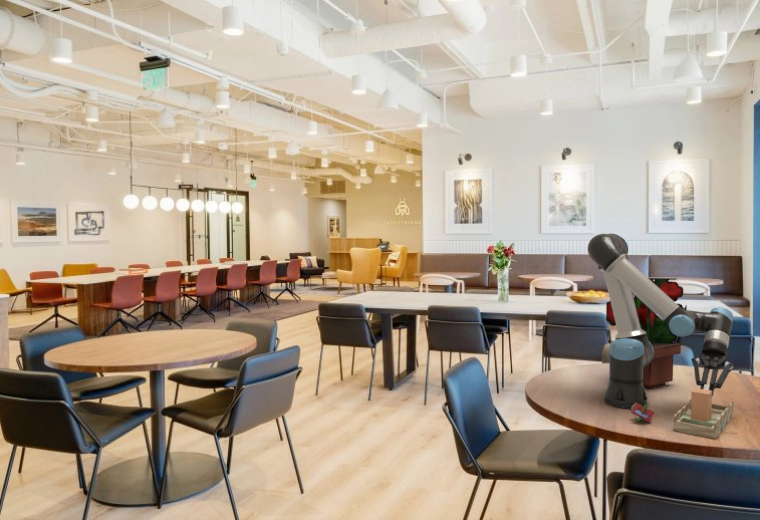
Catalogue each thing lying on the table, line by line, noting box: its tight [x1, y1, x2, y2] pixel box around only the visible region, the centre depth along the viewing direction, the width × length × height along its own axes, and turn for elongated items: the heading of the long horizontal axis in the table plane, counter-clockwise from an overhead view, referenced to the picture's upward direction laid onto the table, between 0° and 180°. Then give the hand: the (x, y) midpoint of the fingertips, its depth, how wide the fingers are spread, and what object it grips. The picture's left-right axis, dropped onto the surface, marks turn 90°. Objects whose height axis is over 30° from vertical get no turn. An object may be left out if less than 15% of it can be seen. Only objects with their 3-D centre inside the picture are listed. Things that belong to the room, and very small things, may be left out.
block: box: [690, 387, 713, 422], centre depth 190 cm, size 5×5×9 cm
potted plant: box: [605, 277, 688, 390], centre depth 245 cm, size 22×22×45 cm
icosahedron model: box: [630, 402, 656, 424], centre depth 196 cm, size 7×7×8 cm
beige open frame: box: [672, 399, 734, 440], centre depth 195 cm, size 30×12×5 cm, turn 140°
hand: (704, 403), depth 193 cm, fingers closed
